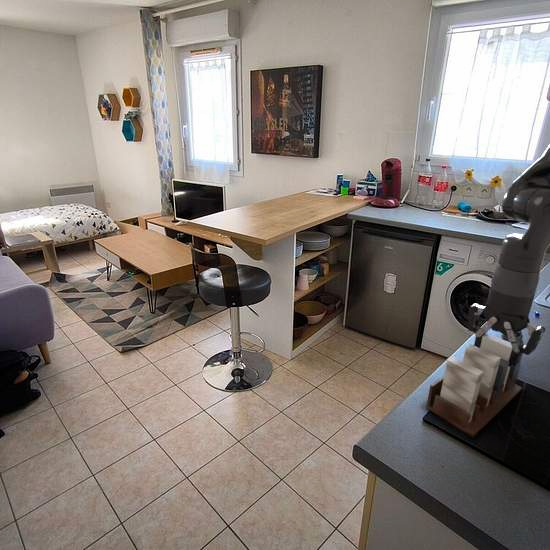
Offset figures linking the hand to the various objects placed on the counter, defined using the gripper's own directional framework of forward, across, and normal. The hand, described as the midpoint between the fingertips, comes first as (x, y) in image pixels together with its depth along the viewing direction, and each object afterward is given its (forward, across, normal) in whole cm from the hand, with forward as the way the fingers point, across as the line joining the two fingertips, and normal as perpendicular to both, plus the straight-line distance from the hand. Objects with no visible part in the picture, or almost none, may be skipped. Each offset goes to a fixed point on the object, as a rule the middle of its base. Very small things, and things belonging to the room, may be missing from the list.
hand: (494, 357), depth 78 cm
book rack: (+8, 0, +5) cm, 10 cm away
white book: (+8, 0, 0) cm, 8 cm away
